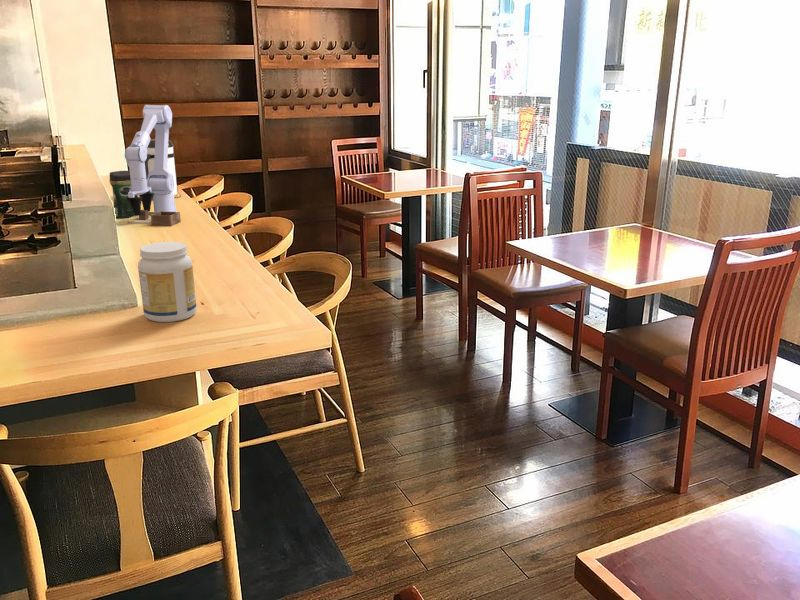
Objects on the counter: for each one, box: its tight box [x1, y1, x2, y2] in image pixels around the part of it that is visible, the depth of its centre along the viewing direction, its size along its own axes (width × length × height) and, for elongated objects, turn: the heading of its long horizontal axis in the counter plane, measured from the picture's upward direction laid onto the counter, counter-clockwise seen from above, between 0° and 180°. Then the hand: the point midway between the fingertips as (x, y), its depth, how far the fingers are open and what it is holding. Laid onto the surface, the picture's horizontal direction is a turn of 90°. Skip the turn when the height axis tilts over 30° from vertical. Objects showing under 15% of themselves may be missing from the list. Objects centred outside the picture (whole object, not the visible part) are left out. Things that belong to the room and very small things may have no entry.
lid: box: [127, 209, 152, 225], centre depth 265 cm, size 9×9×5 cm
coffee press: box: [145, 138, 182, 198], centre depth 315 cm, size 17×16×30 cm
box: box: [150, 211, 182, 227], centre depth 261 cm, size 8×8×4 cm
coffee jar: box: [109, 170, 138, 219], centre depth 275 cm, size 10×8×19 cm
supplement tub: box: [137, 241, 198, 323], centre depth 160 cm, size 12×12×17 cm
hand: (142, 213), depth 265 cm, fingers open, 7 cm apart
